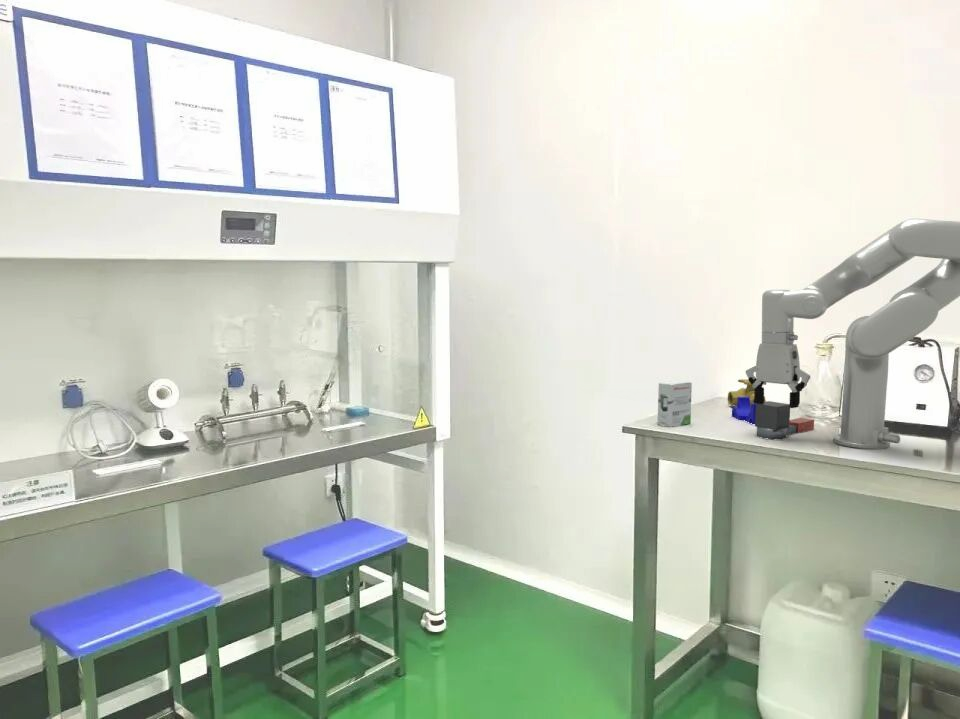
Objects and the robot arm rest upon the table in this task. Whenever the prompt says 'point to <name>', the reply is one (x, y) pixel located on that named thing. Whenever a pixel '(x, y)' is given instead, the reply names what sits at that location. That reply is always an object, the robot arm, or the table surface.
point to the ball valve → (742, 393)
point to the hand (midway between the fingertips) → (776, 405)
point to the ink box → (674, 403)
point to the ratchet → (787, 429)
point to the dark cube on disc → (772, 415)
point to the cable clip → (744, 410)
